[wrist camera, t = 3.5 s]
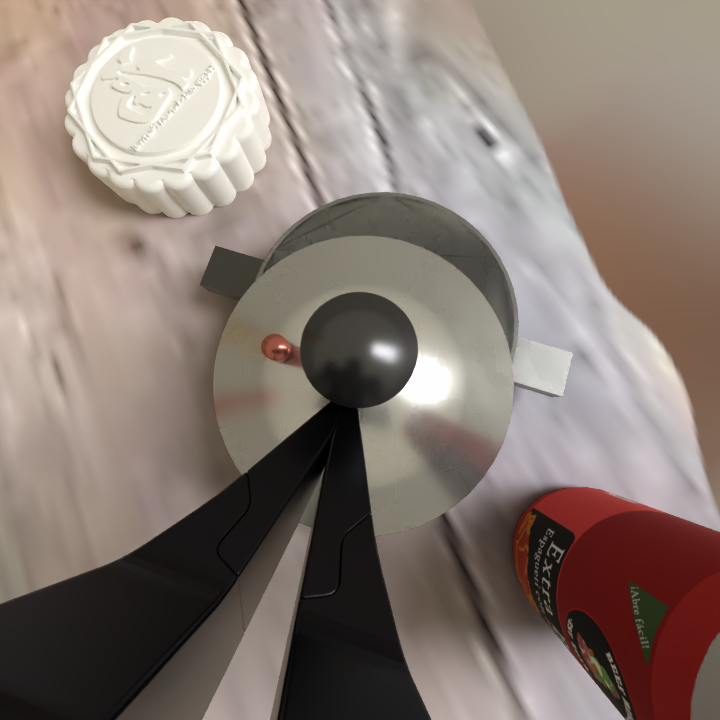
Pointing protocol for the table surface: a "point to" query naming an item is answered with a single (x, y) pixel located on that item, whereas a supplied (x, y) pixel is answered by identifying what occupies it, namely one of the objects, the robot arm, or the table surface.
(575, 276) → the table surface
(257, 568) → the robot arm
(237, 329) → the cooker lid
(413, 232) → the cooker pot
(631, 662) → the canned food
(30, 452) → the table surface
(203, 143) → the mooncake
